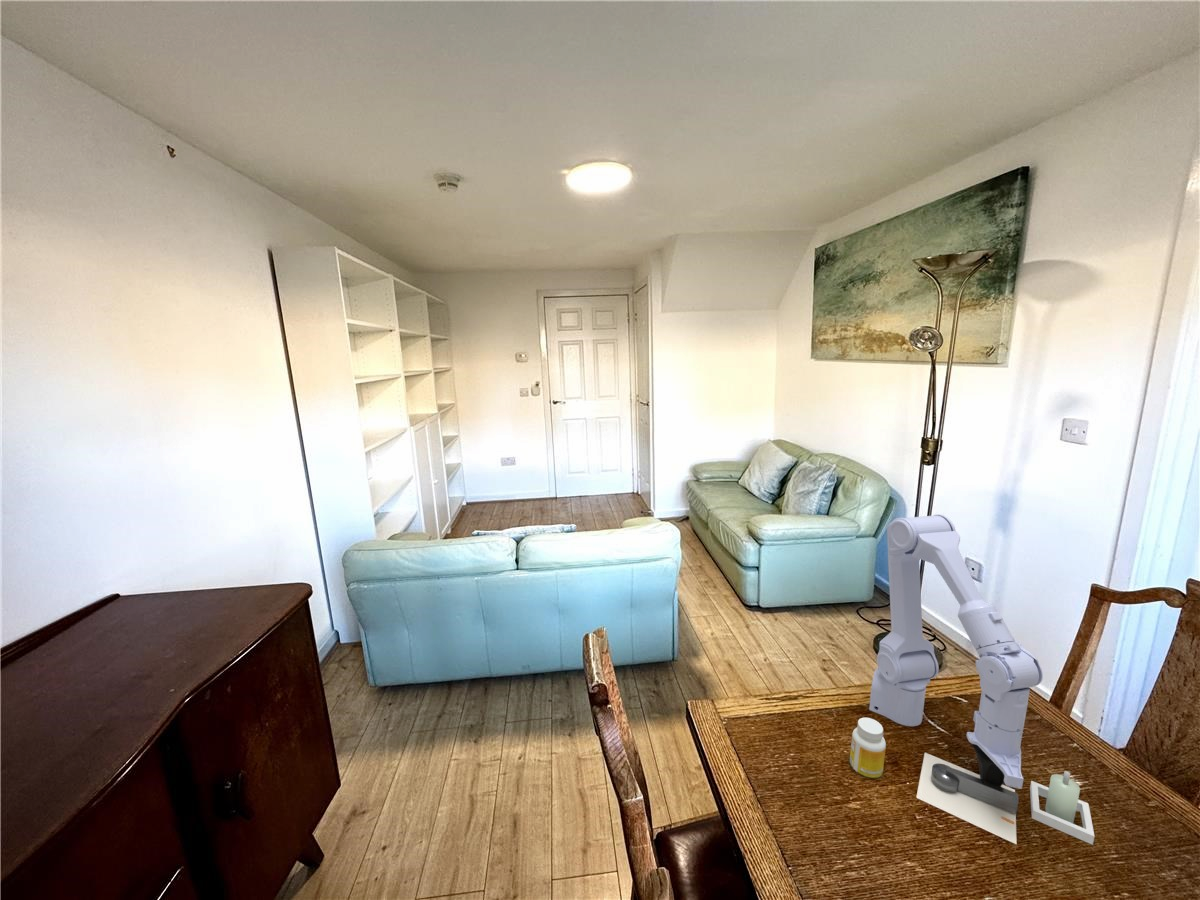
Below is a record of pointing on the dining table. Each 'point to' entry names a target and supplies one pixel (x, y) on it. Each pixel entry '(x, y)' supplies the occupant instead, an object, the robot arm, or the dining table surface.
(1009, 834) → the dial panel
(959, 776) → the dial lever
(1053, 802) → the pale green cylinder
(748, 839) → the dining table surface
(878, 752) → the supplement bottle
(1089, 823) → the tool holder
